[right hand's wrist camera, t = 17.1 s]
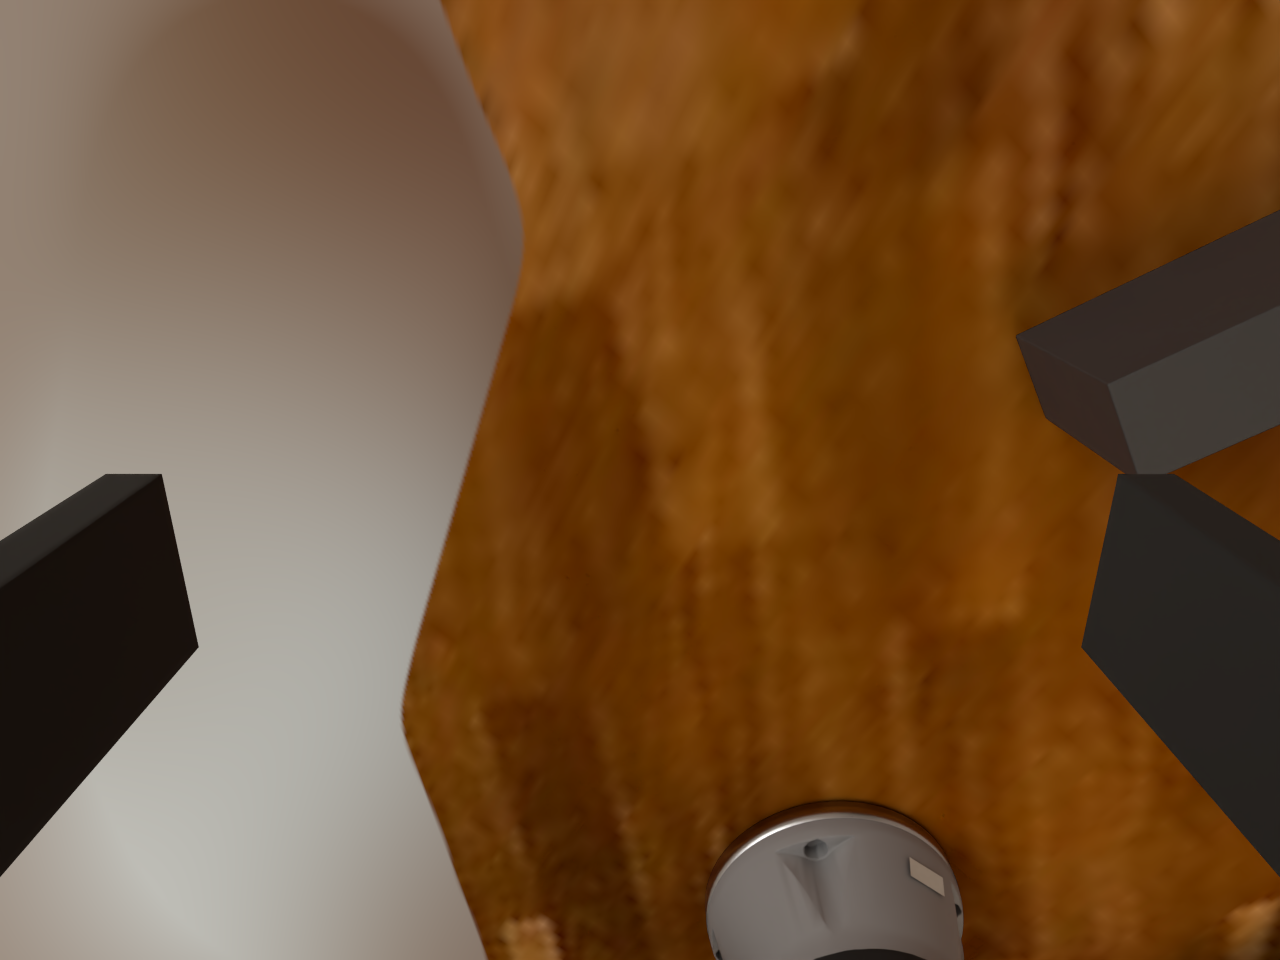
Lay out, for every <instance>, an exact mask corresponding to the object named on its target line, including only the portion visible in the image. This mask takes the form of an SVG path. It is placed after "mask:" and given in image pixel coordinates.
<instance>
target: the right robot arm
mask: <svg viewBox="0 0 1280 960" xmlns="http://www.w3.org/2000/svg"><path fill="white" fill-rule="evenodd" d="M197 648H198V642H197V637H196V633H195V628H194V623H193V618H192V614H191V609H190V604H189V600H188V595H187V590H186V586H185V581H184V576H183V572H182V567H181V562H180V557H179V553H178V548H177V544H176V539H175V534H174V529H173V525H172V520H171V515H170V511H169V506H168V501H167V497H166V492H165V487H164V483H163V478H162V474H105V475H104V476H102V477H101V478H99V479H97V480H96V481H94V482H93V483H91V484H89V485H88V486H86V487H85V488H83V489H82V490H80V491H78V492H77V493H75V494H74V495H72V496H71V497H69V498H67V499H66V500H64V501H63V502H61V503H59V504H58V505H56V506H55V507H53V508H51V509H50V510H48V511H47V512H45V513H44V514H42V515H41V516H39V517H37V518H36V519H34V520H33V521H31V522H29V523H28V524H26V525H25V526H23V527H22V528H20V529H18V530H17V531H15V532H14V533H12V534H10V535H9V536H7V537H6V538H4V539H3V540H1V541H0V877H1V875H2V874H3V873H4V872H5V871H6V870H7V868H8V867H9V866H10V865H11V864H12V863H13V862H14V860H15V859H16V858H17V857H18V856H19V855H20V853H21V852H22V851H23V850H24V849H25V848H26V846H27V845H28V844H29V843H30V842H31V841H32V840H33V838H34V837H35V836H36V835H37V834H38V833H39V831H40V830H41V829H42V828H43V827H44V826H45V824H46V823H47V822H48V821H49V820H50V819H51V818H52V816H53V815H54V814H55V813H56V812H57V811H58V809H59V808H60V807H61V806H62V805H63V804H64V802H65V801H66V800H67V799H68V798H69V797H70V796H71V794H72V793H73V792H74V791H75V790H76V789H77V787H78V786H79V785H80V784H81V783H82V782H83V780H84V779H85V778H86V777H87V776H88V775H89V774H90V772H91V771H92V770H93V769H94V768H95V767H96V765H97V764H98V763H99V762H100V761H101V760H102V758H103V757H104V756H105V755H106V754H107V753H108V752H109V750H110V749H111V748H112V747H113V746H114V744H115V743H116V742H117V741H118V740H119V739H120V738H121V736H122V735H123V734H124V733H125V732H126V731H127V730H128V728H129V727H130V726H131V725H132V724H133V723H134V721H135V720H136V719H137V718H138V717H139V716H140V714H141V713H142V712H143V711H144V710H145V709H146V708H147V706H148V705H149V704H150V703H151V702H152V701H153V699H154V698H155V697H156V696H157V695H158V694H159V692H160V691H161V690H162V689H163V688H164V687H165V685H166V684H167V683H168V682H169V681H170V680H171V679H172V677H173V676H174V675H175V674H176V673H177V672H178V670H179V669H180V668H181V667H182V666H183V665H184V663H185V662H186V661H187V660H188V659H189V658H190V657H191V655H192V654H193V653H194V652H195V651H196V650H197ZM1082 648H1083V650H1084V651H1085V652H1086V653H1087V654H1088V655H1089V657H1090V658H1091V659H1092V660H1093V661H1094V662H1095V663H1096V665H1097V666H1098V667H1099V668H1100V669H1101V670H1102V672H1103V673H1104V674H1105V675H1106V676H1107V677H1108V679H1109V680H1110V681H1111V682H1112V683H1113V684H1114V685H1115V687H1116V688H1117V689H1118V690H1119V691H1120V692H1121V694H1122V695H1123V696H1124V697H1125V698H1126V699H1127V701H1128V702H1129V703H1130V704H1131V705H1132V706H1133V708H1134V709H1135V710H1136V711H1137V712H1138V713H1139V714H1140V716H1141V717H1142V718H1143V719H1144V720H1145V721H1146V723H1147V724H1148V725H1149V726H1150V727H1151V728H1152V730H1153V731H1154V732H1155V733H1156V734H1157V735H1158V736H1159V738H1160V739H1161V740H1162V741H1163V742H1164V743H1165V745H1166V746H1167V747H1168V748H1169V749H1170V750H1171V752H1172V753H1173V754H1174V755H1175V756H1176V757H1177V758H1178V760H1179V761H1180V762H1181V763H1182V764H1183V765H1184V767H1185V768H1186V769H1187V770H1188V771H1189V772H1190V774H1191V775H1192V776H1193V777H1194V778H1195V779H1196V780H1197V782H1198V783H1199V784H1200V785H1201V786H1202V787H1203V789H1204V790H1205V791H1206V792H1207V793H1208V794H1209V796H1210V797H1211V798H1212V799H1213V800H1214V801H1215V802H1216V804H1217V805H1218V806H1219V807H1220V808H1221V809H1222V811H1223V812H1224V813H1225V814H1226V815H1227V816H1228V818H1229V819H1230V820H1231V821H1232V822H1233V823H1234V824H1235V826H1236V827H1237V828H1238V829H1239V830H1240V831H1241V833H1242V834H1243V835H1244V836H1245V837H1246V838H1247V840H1248V841H1249V842H1250V843H1251V844H1252V845H1253V846H1254V848H1255V849H1256V850H1257V851H1258V852H1259V853H1260V855H1261V856H1262V857H1263V858H1264V859H1265V860H1266V862H1267V863H1268V864H1269V865H1270V866H1271V867H1272V869H1273V870H1274V871H1275V872H1276V873H1277V874H1278V875H1279V877H1280V541H1279V540H1277V539H1276V538H1274V537H1273V536H1271V535H1270V534H1268V533H1266V532H1265V531H1263V530H1262V529H1260V528H1259V527H1257V526H1255V525H1254V524H1252V523H1251V522H1249V521H1247V520H1246V519H1244V518H1243V517H1241V516H1240V515H1238V514H1236V513H1235V512H1233V511H1232V510H1230V509H1229V508H1227V507H1225V506H1224V505H1222V504H1221V503H1219V502H1217V501H1216V500H1214V499H1213V498H1211V497H1210V496H1208V495H1206V494H1205V493H1203V492H1202V491H1200V490H1199V489H1197V488H1195V487H1194V486H1192V485H1191V484H1189V483H1187V482H1186V481H1184V480H1183V479H1181V478H1180V477H1178V476H1176V475H1175V474H1118V478H1117V482H1116V487H1115V492H1114V497H1113V501H1112V506H1111V511H1110V515H1109V520H1108V525H1107V529H1106V534H1105V539H1104V543H1103V548H1102V553H1101V557H1100V562H1099V567H1098V572H1097V576H1096V581H1095V586H1094V590H1093V595H1092V600H1091V604H1090V609H1089V614H1088V618H1087V623H1086V628H1085V633H1084V637H1083V642H1082ZM705 909H706V921H707V930H708V935H709V939H710V943H711V947H712V950H713V953H714V956H715V958H716V960H964V953H963V946H962V942H961V937H962V932H963V906H962V901H961V896H960V892H959V888H958V884H957V881H956V878H955V876H954V873H953V871H952V869H951V866H950V864H949V862H948V859H947V857H946V855H945V853H944V852H943V850H942V848H941V847H940V845H939V844H938V843H937V841H936V840H935V839H934V838H933V837H932V836H931V835H930V834H929V833H928V832H927V831H926V830H925V829H924V828H922V827H921V826H920V825H918V824H917V823H915V822H914V821H913V820H911V819H909V818H907V817H905V816H904V815H902V814H899V813H897V812H895V811H892V810H889V809H886V808H883V807H880V806H876V805H872V804H867V803H860V802H850V801H828V802H817V803H811V804H805V805H801V806H797V807H793V808H790V809H787V810H784V811H781V812H779V813H776V814H774V815H772V816H769V817H767V818H766V819H764V820H762V821H760V822H758V823H756V824H755V825H753V826H752V827H750V828H749V829H747V830H746V831H745V832H743V833H742V834H741V835H740V836H738V837H737V838H736V839H735V840H734V841H733V842H732V843H731V844H730V845H729V846H728V848H727V849H726V850H725V851H724V852H723V854H722V855H721V856H720V858H719V859H718V861H717V863H716V864H715V866H714V868H713V870H712V873H711V875H710V877H709V881H708V884H707V889H706V895H705Z"/></svg>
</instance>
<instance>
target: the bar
mask: <svg viewBox="0 0 1280 960" xmlns="http://www.w3.org/2000/svg"><path fill="white" fill-rule="evenodd" d="M1016 338H1017V341H1018V343H1019V346H1020V349H1021V351H1022V354H1023V357H1024V360H1025V362H1026V365H1027V368H1028V371H1029V373H1030V376H1031V379H1032V381H1033V384H1034V387H1035V390H1036V392H1037V395H1038V398H1039V401H1040V403H1041V406H1042V409H1043V411H1044V414H1045V417H1046V418H1047V419H1048V420H1049V421H1051V422H1052V423H1054V424H1055V425H1057V426H1058V427H1059V428H1061V429H1062V430H1064V431H1065V432H1067V433H1068V434H1069V435H1071V436H1072V437H1074V438H1075V439H1077V440H1078V441H1079V442H1081V443H1082V444H1084V445H1085V446H1087V447H1088V448H1089V449H1091V450H1092V451H1094V452H1095V453H1097V454H1098V455H1100V456H1101V457H1102V458H1104V459H1105V460H1107V461H1108V462H1110V463H1111V464H1112V465H1114V466H1115V467H1117V468H1118V469H1120V470H1121V471H1122V472H1124V473H1125V474H1167V473H1169V472H1172V471H1174V470H1176V469H1179V468H1181V467H1183V466H1186V465H1188V464H1190V463H1192V462H1195V461H1197V460H1199V459H1202V458H1204V457H1206V456H1209V455H1211V454H1213V453H1215V452H1218V451H1220V450H1222V449H1225V448H1227V447H1229V446H1232V445H1234V444H1236V443H1238V442H1241V441H1243V440H1245V439H1248V438H1250V437H1252V436H1255V435H1257V434H1259V433H1261V432H1264V431H1266V430H1268V429H1271V428H1273V427H1275V426H1278V425H1280V210H1279V211H1277V212H1275V213H1272V214H1270V215H1268V216H1266V217H1264V218H1262V219H1260V220H1258V221H1256V222H1254V223H1251V224H1249V225H1247V226H1245V227H1243V228H1241V229H1239V230H1237V231H1235V232H1233V233H1230V234H1228V235H1226V236H1224V237H1222V238H1220V239H1218V240H1216V241H1214V242H1211V243H1209V244H1207V245H1205V246H1203V247H1201V248H1199V249H1197V250H1195V251H1193V252H1190V253H1188V254H1186V255H1184V256H1182V257H1180V258H1178V259H1176V260H1174V261H1172V262H1169V263H1167V264H1165V265H1163V266H1161V267H1159V268H1157V269H1155V270H1153V271H1151V272H1148V273H1146V274H1144V275H1142V276H1140V277H1138V278H1136V279H1134V280H1132V281H1130V282H1127V283H1125V284H1123V285H1121V286H1119V287H1117V288H1115V289H1113V290H1111V291H1109V292H1106V293H1104V294H1102V295H1100V296H1098V297H1096V298H1094V299H1092V300H1090V301H1088V302H1085V303H1083V304H1081V305H1079V306H1077V307H1075V308H1073V309H1071V310H1069V311H1067V312H1064V313H1062V314H1060V315H1058V316H1056V317H1054V318H1052V319H1050V320H1048V321H1046V322H1043V323H1041V324H1039V325H1037V326H1035V327H1033V328H1031V329H1029V330H1027V331H1025V332H1022V333H1020V334H1018V335H1017V336H1016Z"/></svg>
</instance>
